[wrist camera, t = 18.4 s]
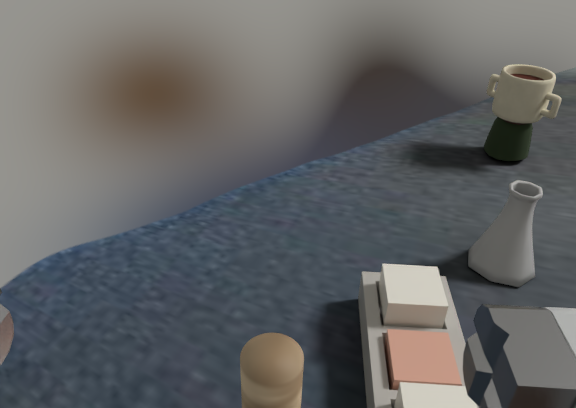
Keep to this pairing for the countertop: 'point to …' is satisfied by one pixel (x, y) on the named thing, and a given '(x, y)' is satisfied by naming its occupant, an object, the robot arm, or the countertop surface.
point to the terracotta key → (420, 358)
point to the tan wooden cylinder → (271, 372)
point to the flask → (509, 239)
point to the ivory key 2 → (432, 396)
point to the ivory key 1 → (412, 296)
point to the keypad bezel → (375, 334)
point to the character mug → (518, 109)
